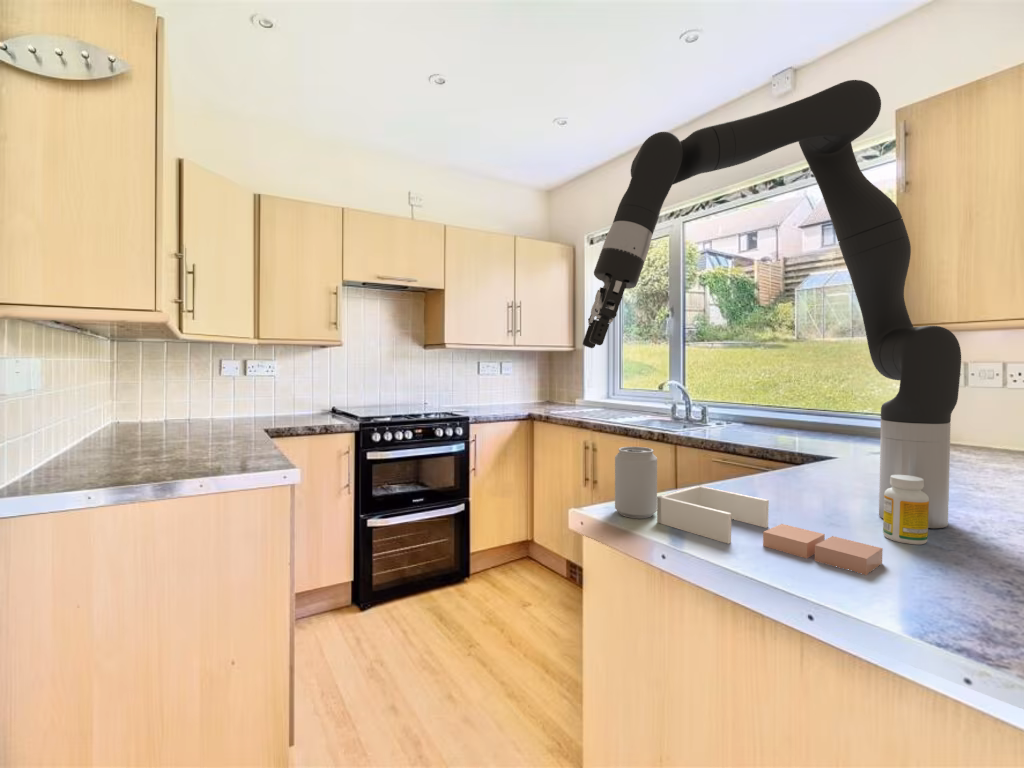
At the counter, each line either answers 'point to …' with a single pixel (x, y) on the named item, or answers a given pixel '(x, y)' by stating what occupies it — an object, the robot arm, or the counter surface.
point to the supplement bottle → (906, 510)
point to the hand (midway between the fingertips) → (591, 345)
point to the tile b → (848, 554)
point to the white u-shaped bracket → (710, 511)
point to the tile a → (792, 540)
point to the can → (636, 482)
